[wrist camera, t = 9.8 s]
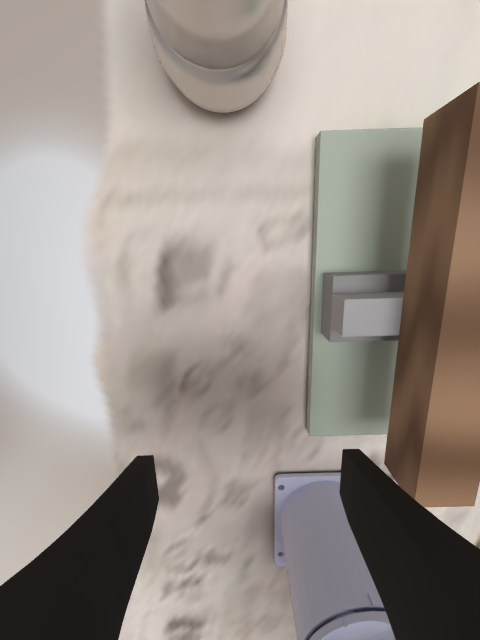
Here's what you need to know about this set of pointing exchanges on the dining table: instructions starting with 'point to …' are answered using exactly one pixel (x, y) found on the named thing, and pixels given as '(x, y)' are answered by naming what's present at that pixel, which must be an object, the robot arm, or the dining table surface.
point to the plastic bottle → (219, 47)
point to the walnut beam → (441, 318)
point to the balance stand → (358, 275)
